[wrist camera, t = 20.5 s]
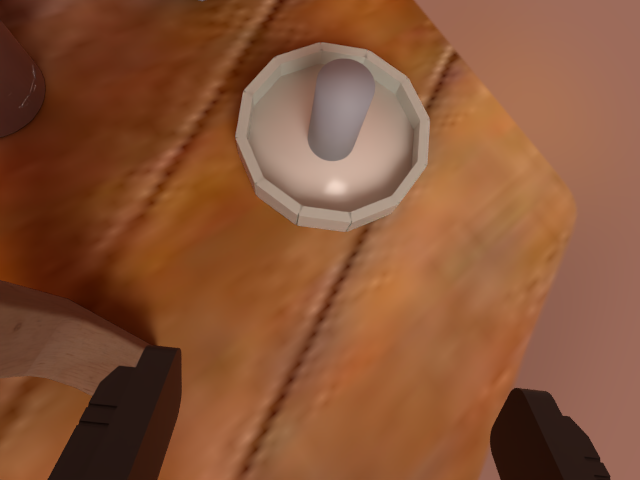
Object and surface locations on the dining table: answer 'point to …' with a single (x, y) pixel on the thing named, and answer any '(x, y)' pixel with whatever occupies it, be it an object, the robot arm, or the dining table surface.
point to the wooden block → (60, 340)
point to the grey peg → (339, 108)
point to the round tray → (321, 175)
